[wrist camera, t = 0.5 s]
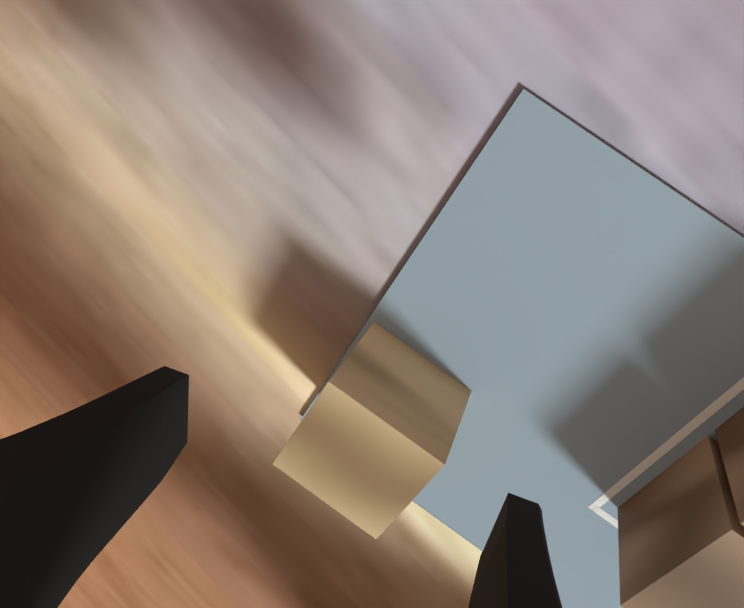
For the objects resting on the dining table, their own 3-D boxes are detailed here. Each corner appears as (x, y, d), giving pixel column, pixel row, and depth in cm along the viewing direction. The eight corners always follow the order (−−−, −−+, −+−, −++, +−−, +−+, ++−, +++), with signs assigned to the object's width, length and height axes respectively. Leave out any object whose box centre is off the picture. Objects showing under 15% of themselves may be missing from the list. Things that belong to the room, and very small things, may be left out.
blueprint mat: (688, 695, 26) (688, 700, 26) (302, 417, 27) (300, 420, 27) (1099, 477, 18) (1104, 482, 17) (524, 88, 19) (523, 89, 18)
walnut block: (718, 579, 23) (741, 692, 19) (617, 507, 23) (620, 605, 19) (820, 513, 21) (871, 627, 17) (708, 435, 21) (731, 529, 17)
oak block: (410, 460, 25) (376, 539, 22) (322, 397, 26) (272, 464, 22) (471, 391, 23) (444, 464, 19) (374, 321, 23) (328, 381, 19)
